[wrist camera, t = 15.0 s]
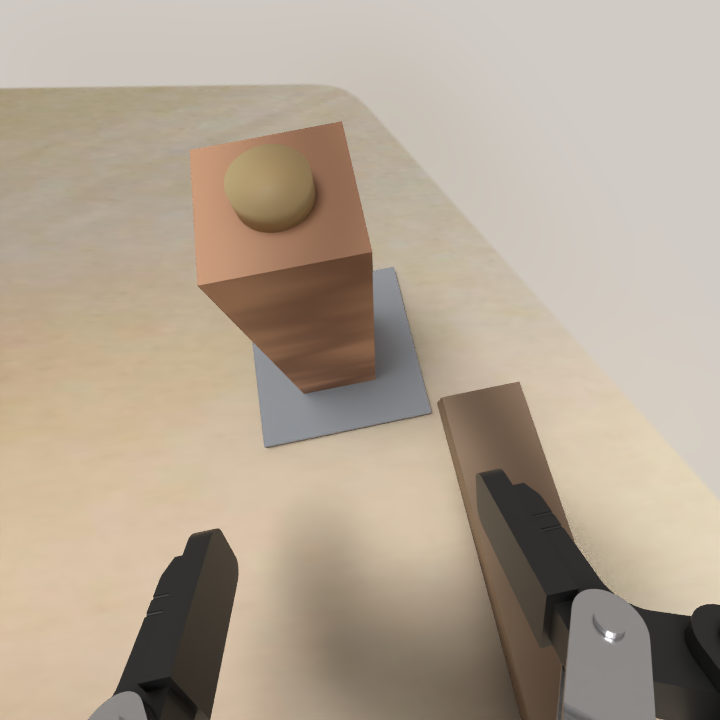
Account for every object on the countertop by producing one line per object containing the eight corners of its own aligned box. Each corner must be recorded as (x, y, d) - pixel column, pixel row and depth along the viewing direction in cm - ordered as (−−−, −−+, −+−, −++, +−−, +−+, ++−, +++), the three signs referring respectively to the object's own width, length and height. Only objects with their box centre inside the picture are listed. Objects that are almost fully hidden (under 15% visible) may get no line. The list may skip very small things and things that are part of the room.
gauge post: (303, 393, 19) (183, 271, 7) (294, 327, 21) (177, 128, 9) (375, 379, 19) (371, 235, 7) (361, 314, 21) (339, 98, 9)
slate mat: (266, 447, 19) (264, 447, 19) (249, 299, 22) (247, 296, 21) (430, 413, 19) (431, 412, 19) (393, 270, 22) (393, 267, 22)
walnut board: (555, 846, 14) (576, 889, 13) (437, 402, 19) (441, 397, 18) (654, 824, 14) (685, 865, 13) (508, 388, 19) (519, 381, 18)
